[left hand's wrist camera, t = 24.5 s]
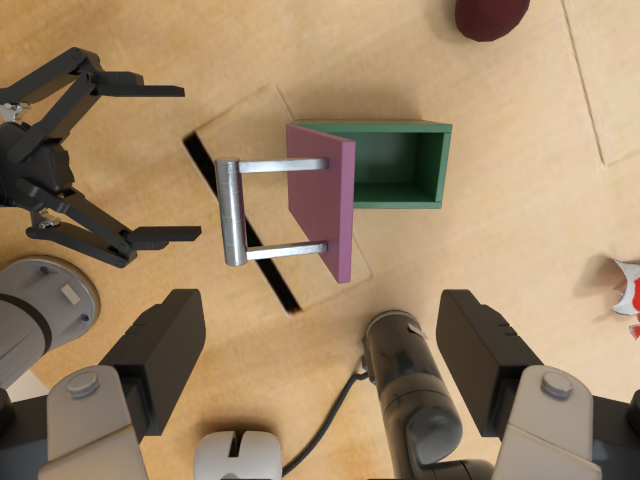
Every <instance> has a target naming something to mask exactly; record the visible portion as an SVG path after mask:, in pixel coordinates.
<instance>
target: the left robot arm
mask: <svg viewBox="0 0 640 480" xmlns="http://www.w3.org/2000/svg"><path fill="white" fill-rule="evenodd" d="M205 338H206V328H205V321H204V314H203V307H202V301H201V294H200V292H199V290H198V289H173V290H172V291H171V292H170V294H169V295H168V296H167V297H166V299H165V300H164V301H163V302H162V304H155V305H154V306H152V307H151V308H149V309H148V310H146V311H144V312H143V313H142V314H141V315H140V316H139V317H138V318H137V319H136V321H135V322H134V323H133V326H130V328H129V329H128V330H127V331H126V332H125V335H123V336H122V337H121V338H120V339H119V341H118V342H117V343H116V344H115V345H114V346H113V348H112V349H111V350H110V351H109V352H108V353H107V355H106V356H105V357H104V358H103V359H102V360H101V362H100V363H99V364H98V365H96V366H90V367H86V368H83V369H80V370H78V371H75V372H73V373H71V374H70V375H68V376H66V377H65V378H63V379H62V380H60V381H59V382H58V383H57V384H56V385H55V386H54V387H53V388H52V389H51V391H50V392H49V394H48V395H44V396H40V397H36V398H31V399H27V400H23V401H18V402H13V403H11V400H10V398H9V396H8V394H7V392H6V390H5V389H3V388H0V480H149V479H148V475H147V472H146V468H145V465H144V461H143V458H142V454H141V451H140V447H139V445H140V443H141V441H142V439H143V437H144V436H161V434H162V432H163V430H164V428H165V426H166V424H167V422H168V420H169V418H170V416H171V414H172V412H173V410H174V407H175V405H176V403H177V401H178V399H179V397H180V395H181V393H182V391H183V389H184V387H185V385H186V382H187V380H188V378H189V376H190V374H191V372H192V370H193V368H194V366H195V364H196V362H197V360H198V358H199V355H200V353H201V351H202V349H203V347H204V343H205ZM425 338H426V339H427V336H426V334H425V333H423V332H422V331H421V328H420V325H419V323H418V322H417V320H416V319H415V318H414V317H413V316H412V315H410V314H408V313H406V312H403V311H388V312H384V313H382V314H380V315H378V316H376V317H375V318H374V319H373V320H372V321H371V322H370V323H369V325H368V327H367V330H366V337H365V338H364V339H363V340H362V341H363V347H364V353H365V354H364V355H363V356H362V357H361V360H362V366H363V369H365V370H366V371H367V372H365V373H363V374H361V375H360V374H355V375H353V376H352V377H351V378H350V380H349V381H348V383H347V384H346V386H345V388H344V389H343V391H342V393H341V395H340V397H339V399H338V401H337V403H336V404H335V406H334V408H333V410H332V411H331V413H330V415H329V417H328V419H327V421H326V423H325V424H324V426H323V428H322V429H321V431H320V432H319V434H318V435H317V436H316V438H315V439H314V441H313V442H312V443H311V444H310V446H309V447H308V448H307V449H306V450H305V451H304V452H303V453H302V454H301V455H300V456H299V457H298V458H297V459H296V460H295V461H294V462H293V463H292V464H291V465H290V466H289V467H287V468H286V469H285V470H284V471H282V477H284V476H285V475H286V474H288V473H289V472H290V471H291V470H293V469H294V468H295V467H296V466H297V465H298V464H299V463H300V462H301V461H302V460H303V459H304V458H305V457H306V456H307V455H308V454H309V453H310V452H311V451H312V450H313V448H314V447H315V446H316V445H317V443H318V442H319V441H320V439H321V438H322V436H323V435H324V434H325V432H326V430H327V429H328V427H329V425H330V424H331V422H332V420H333V418H334V416H335V414H336V413H337V411H338V409H339V408H340V406H341V404H342V402H343V400H344V399H345V397H346V395H347V393H348V391H349V389H350V388H351V386H352V384H353V383H354V382H355V381H356V380H357V379H358V380H364V379H366V378H368V377H369V380H370V381H371V383H373V384H374V385H376V387H377V392H378V397H379V402H380V406H381V411H382V416H383V421H384V427H385V432H386V436H387V440H388V445H389V449H390V454H391V459H392V464H393V470H394V477H395V479H368V480H640V389H639V390H637V391H636V392H635V393H634V396H633V398H632V400H631V402H630V404H629V403H624V402H620V401H615V400H611V399H606V398H602V397H598V396H594V395H592V394H591V392H590V391H589V389H588V388H587V387H586V386H585V385H584V384H583V383H582V382H581V381H580V380H578V379H577V378H575V377H574V376H572V375H570V374H569V373H567V372H565V371H562V370H560V369H557V368H554V367H550V366H545V365H544V364H543V363H542V362H541V360H540V359H539V358H538V357H537V356H536V355H535V353H534V352H533V351H532V350H531V349H530V348H529V347H528V345H527V344H526V343H525V342H524V341H523V340H522V338H521V337H520V336H517V333H516V331H515V330H514V329H513V328H512V327H510V325H509V323H508V322H507V321H506V320H505V319H504V318H503V316H502V315H501V314H500V313H498V312H497V311H495V310H494V309H492V308H490V307H489V306H487V305H481V304H480V303H479V302H478V300H477V299H476V298H475V297H474V295H473V294H472V293H471V292H470V291H469V290H467V289H445V290H443V292H442V294H441V300H440V307H439V313H438V320H437V327H436V340H437V345H438V348H439V350H440V352H441V354H442V357H443V359H444V361H445V363H446V365H447V367H448V369H449V371H450V373H451V375H452V377H453V379H454V381H455V383H456V385H457V387H458V389H459V391H460V393H461V396H462V398H463V400H464V402H465V404H466V406H467V408H468V410H469V412H470V414H471V416H472V418H473V420H474V422H475V424H476V426H477V428H478V430H479V433H480V435H481V437H499V439H500V441H501V443H502V444H501V447H500V451H499V454H498V458H497V461H496V465H495V466H494V465H493V464H491V463H490V462H488V461H486V460H481V459H465V460H459V461H458V460H456V461H447V462H439V461H440V460H442V459H444V458H445V457H447V456H448V455H449V454H451V453H452V452H453V451H454V450H455V449H456V448H457V446H458V445H459V443H460V441H461V438H462V434H463V427H462V422H461V419H460V416H459V414H458V412H457V409H456V407H455V405H454V403H453V401H452V399H451V396H450V394H449V392H448V390H447V387H446V385H445V383H444V381H443V379H442V376H441V374H440V372H439V370H438V367H437V365H436V363H435V361H434V358H433V356H432V354H431V352H430V349H429V347H428V345H427V343H426V340H425ZM427 340H428V339H427ZM437 462H439V463H437ZM221 480H272V479H221Z"/></svg>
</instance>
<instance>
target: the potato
mask: <svg viewBox="0 0 640 480" xmlns="http://www.w3.org/2000/svg"><path fill="white" fill-rule="evenodd" d="M529 3H530V0H457V2H456V9H455V19H456V24H457V27H458V29H459V31H460V32H461V33H462V34H463V35H464V36H465V37H467V38H470V39H472V40H475V41H477V42H486V41H494V40H496V39H498V38H500V37H503V36H505V35H506V34H508V33H509V32H510V31H511V30H512V29H513V28H515V27H516V26H517V25H518V24H519V22H520V21H521V19H522V18H523V16H524V14H525V13H526V11H527V10H528V7H529Z"/></svg>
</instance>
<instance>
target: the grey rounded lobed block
mask: <svg viewBox="0 0 640 480" xmlns="http://www.w3.org/2000/svg"><path fill="white" fill-rule="evenodd" d="M193 475H194V480H221V479H272V480H281V478H282V450H281V445H280V442H279V440H278V438H277V437H276V436H275V435H273V434H271V433H268V432H261V431H246V432H245V433H244V435H243V438H242V441H241V445H240V450H239V456H238V455H237V439H236V432H235V431H221V432H214V433H211V434H208V435H206V436H204V437H203V438H202V439H201V440H200V442H199V443H198V445H197V448H196V451H195V455H194V462H193Z"/></svg>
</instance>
